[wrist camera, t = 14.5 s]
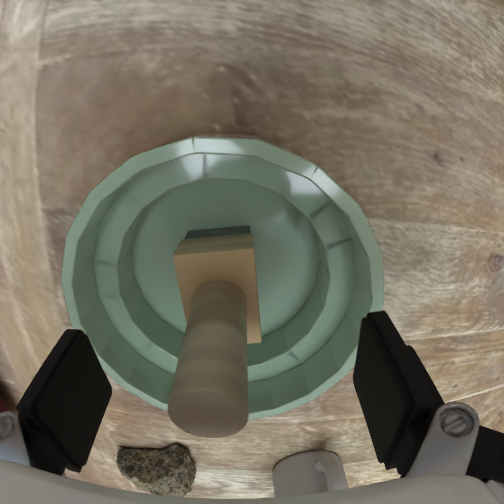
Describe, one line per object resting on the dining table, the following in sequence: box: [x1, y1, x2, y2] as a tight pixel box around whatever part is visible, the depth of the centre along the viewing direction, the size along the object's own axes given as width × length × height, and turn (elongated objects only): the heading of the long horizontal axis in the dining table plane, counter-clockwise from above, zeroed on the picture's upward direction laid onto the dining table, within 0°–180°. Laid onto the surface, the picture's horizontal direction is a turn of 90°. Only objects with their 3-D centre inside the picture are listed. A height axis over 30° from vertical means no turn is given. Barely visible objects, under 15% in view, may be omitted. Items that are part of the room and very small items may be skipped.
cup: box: [273, 451, 348, 498], centre depth 23 cm, size 7×10×9 cm
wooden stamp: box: [167, 226, 262, 438], centre depth 13 cm, size 5×4×10 cm
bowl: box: [61, 133, 384, 420], centre depth 16 cm, size 14×14×6 cm
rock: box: [116, 444, 196, 497], centre depth 25 cm, size 7×8×4 cm
